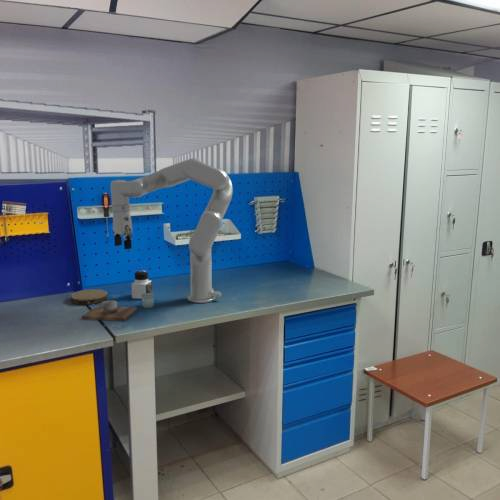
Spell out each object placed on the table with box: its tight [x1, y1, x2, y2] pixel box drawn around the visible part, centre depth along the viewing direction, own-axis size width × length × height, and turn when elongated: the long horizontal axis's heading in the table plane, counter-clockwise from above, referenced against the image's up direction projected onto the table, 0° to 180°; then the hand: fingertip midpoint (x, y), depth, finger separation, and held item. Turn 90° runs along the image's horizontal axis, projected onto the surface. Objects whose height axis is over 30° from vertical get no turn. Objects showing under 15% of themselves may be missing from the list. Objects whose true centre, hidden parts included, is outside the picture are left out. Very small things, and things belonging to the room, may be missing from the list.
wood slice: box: [70, 288, 109, 306], centre depth 233 cm, size 16×16×3 cm
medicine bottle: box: [130, 270, 153, 300], centre depth 237 cm, size 7×7×12 cm
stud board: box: [81, 299, 138, 322], centre depth 213 cm, size 18×14×5 cm
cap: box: [141, 293, 155, 309], centre depth 224 cm, size 5×5×5 cm
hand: (123, 247), depth 228 cm, fingers open, 9 cm apart
